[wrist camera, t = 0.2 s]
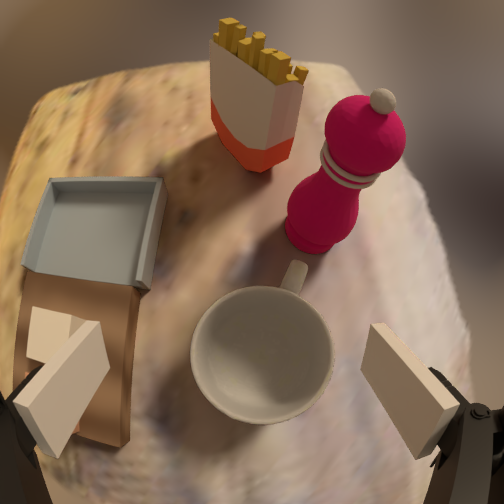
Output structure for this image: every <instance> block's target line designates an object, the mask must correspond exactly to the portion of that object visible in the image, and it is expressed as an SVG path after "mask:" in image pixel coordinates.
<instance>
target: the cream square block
mask: <svg viewBox="0 0 504 504" xmlns="http://www.w3.org/2000/svg"><path fill="white" fill-rule="evenodd" d="M85 322H86V320H84V319H81V318H78V317H76V316H73V315H70V314H65V313H60V312H56V311H51V310H47V309H42V308H38V307H34V306H33V307H32V313H31V319H30V326H29V334H28V343H27V354H26V357H28V358H31V359H34V360H37V361H40V362H43V363H47V362H48V360H49V359H50V358H51V357H52V356H53V355H54V354H55V353H56V352H57V351H58V350H59V349H60V348H61V346H62V345H63V344H64V343H65V342H66V341H67V340H68V339H69V338H70V337H71V336H72V335H73V334H74V333H75V332H76V331H77V330H78V329H79V328H80V327H81V326H82V325H83V324H84V323H85Z"/></svg>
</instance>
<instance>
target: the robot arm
mask: <svg viewBox="0 0 504 504" xmlns="http://www.w3.org/2000/svg"><path fill="white" fill-rule="evenodd" d="M109 369H110V365H109V361H108V357H107V353H106V349H105V344H104V340H103V335H102V330H101V325H100V322H99V321H90V320H87V321H86V322H85V323H84V324H83V325H82V326H81V327H80V328H79V329H78V330H77V331H76V332H75V333H74V334H73V335H72V336H71V337H70V338H69V339H68V340H67V341H66V342H65V343H64V344H63V345H62V346H61V348H60V349H59V350H58V351H57V352H56V353H55V354H54V355H53V356H52V357H51V358H50V359H49V360H48V362H47V363H46V364H45V365H44V366H42V365H40V366H39V367H37V368H35V369H33V370H32V371H31V372H30V373H29V374H28V375H27V376H26V379H24V380H23V381H22V382H21V384H19V385H18V386H17V387H16V389H15V390H14V391H13V392H12V393H11V394H10V395H9V397H8V398H7V399H6V400H4V398H3V396H2V394H1V392H0V504H53V503H52V500H51V498H50V495H49V492H48V489H47V487H46V484H45V481H44V478H43V475H42V471H41V468H40V465H39V461H38V458H37V454H36V452H35V450H34V447H35V446H36V444H37V445H38V446H39V448H40V449H41V451H42V452H43V453H44V454H47V455H49V456H52V457H54V458H57V459H58V458H59V456H60V454H61V453H62V451H63V449H64V447H65V445H66V443H67V441H68V439H69V438H70V436H71V434H72V432H73V430H74V429H75V427H76V425H77V423H78V421H79V420H80V418H81V416H82V414H83V413H84V411H85V409H86V407H87V406H88V404H89V402H90V401H91V399H92V397H93V395H94V394H95V392H96V390H97V389H98V387H99V385H100V384H101V382H102V380H103V379H104V377H105V375H106V374H107V372H108V371H109ZM360 370H361V371H362V373H363V374H364V376H365V378H366V379H367V381H368V382H369V384H370V386H371V387H372V389H373V390H374V392H375V394H376V395H377V397H378V398H379V400H380V402H381V403H382V405H383V407H384V408H385V410H386V412H387V413H388V415H389V416H390V418H391V420H392V421H393V423H394V425H395V426H396V428H397V430H398V431H399V433H400V435H401V436H402V438H403V440H404V441H405V443H406V445H407V447H408V448H409V450H410V452H411V453H412V455H413V457H414V458H415V460H417V459H420V458H422V457H425V456H428V455H430V454H431V453H432V452H433V450H434V449H435V447H436V445H438V446H439V448H440V449H441V450H440V452H439V453H438V455H437V456H436V458H435V459H434V461H433V462H432V463H431V465H430V467H433V465H434V464H435V467H434V471H433V474H432V478H431V481H430V485H429V488H428V491H427V494H426V497H425V500H424V503H423V504H504V406H503V408H502V409H499V410H492V411H491V410H490V409H489V408H488V407H486V406H485V405H483V404H480V403H472V404H470V403H469V402H468V401H467V400H466V399H465V398H464V397H463V396H462V395H461V394H460V392H459V391H458V390H457V389H456V388H455V387H454V386H452V384H451V383H450V382H449V381H447V379H446V378H445V377H444V376H443V375H442V374H441V372H439V371H437V370H435V369H434V368H432V367H430V368H427V367H426V366H425V365H424V364H423V363H422V362H421V361H420V360H419V359H418V358H417V356H416V355H415V354H414V353H413V352H412V351H411V350H410V349H409V348H408V347H407V346H406V345H405V344H404V343H403V342H402V341H401V340H400V339H399V338H398V337H397V336H396V335H395V334H394V333H393V332H392V331H391V330H390V329H389V328H388V326H387V325H386V324H385V323H377V324H371V325H370V330H369V335H368V340H367V344H366V349H365V353H364V357H363V361H362V365H361V369H360Z"/></svg>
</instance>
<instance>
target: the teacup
mask: <svg viewBox="0 0 504 504" xmlns="http://www.w3.org/2000/svg"><path fill="white" fill-rule="evenodd" d="M307 271H308V266H307V264H306V263H304V262H302V261H299V260H292V261H291V263H290V265H289V267H288V269H287V271H286V273H285V276H284V278H283V280H282V283H281V285H280V287H279V288H278V287H272V286H251V287H244V288H241V289H237V290H234V291H232V292H230V293H228V294H226V295H224V296H223V297H221V298H220V299H218V300H217V301H215V302H214V303H213V304H212V305H211V306H210V307H209V308H208V309H207V311H206V312H205V313H204V314H203V316H202V317H201V318H200V320H199V322H198V323H197V325H196V328H195V330H194V333H193V337H192V341H191V347H190V363H191V368H192V372H193V376H194V379H195V381H196V384H197V386H198V388H199V389H200V391H201V392H202V394H203V395H204V396H205V398H206V399H207V400H208V401H209V402H210V403H211V404H212V405H213V406H214V407H215V408H216V409H218V410H219V411H221V412H222V413H224V414H225V415H227V416H229V417H230V418H232V419H235V420H238V421H241V422H244V423H248V424H254V425H270V424H276V423H281V422H284V421H288V420H290V419H292V418H294V417H297V416H298V415H300V414H302V413H303V412H305V411H306V410H308V409H309V408H310V407H311V406H312V405H314V403H315V402H316V401H317V400H318V399H319V398H320V397H321V395H322V394H323V393H324V390H325V389H326V387H327V385H328V383H329V381H330V379H331V375H332V373H333V367H334V361H335V358H334V356H335V349H334V342H333V338H332V335H331V331H330V329H329V327H328V325H327V323H326V321H325V320H324V318H323V316H322V315H321V314H320V313H319V311H318V310H317V309H316V308H315V307H314V306H312V305H311V304H310V303H309V302H308V301H306V300H305V299H303V298H301V297H300V296H299V292H300V290H301V288H302V285H303V283H304V280H305V278H306V275H307Z"/></svg>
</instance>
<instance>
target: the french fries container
mask: <svg viewBox="0 0 504 504" xmlns="http://www.w3.org/2000/svg"><path fill="white" fill-rule="evenodd" d="M246 29H247V27H245V26H243V25H239V21H237V20H235V19H233V18H227V19H221V20H219V33H214V34H213V39H210V91H211V120H212V122H213V124H214V126H215V128H216V131H217V133H218V135H219V137H220V139H221V142H222V144H223V145H224V146H225V147H226V148H227V149H228V150H229V151H230V153H231V154H232V155H233V156H234V157H235V158H236V159H237V160H238V162H239V163H240V164H241V165H242V166H243V167H244V168H245V169H246V170H250V171H255V172H260V173H261V172H263V171H265V170H267V169H269V168H271V167H273V166H275V165H277V164H279V163H281V162H282V161H284V160H286V159H288V158H289V154H290V151H291V147H292V144H293V140H294V137H295V131H296V126H297V121H298V116H299V110H300V105H301V100H302V94H303V89H304V86H303V84H304V81H305V79H306V76H307V74H308V71H309V70H308V69H306V68H305V67H302V66H296V68H295V71H294V74H291V71H292V67H293V66H292V65H291V64H290V60H291V57H289V56H288V55H286V54H285V53H283V52H282V51H279V52H278V50H275V49H273V48H272V49H264V42H265V38H266V35H265V34H263V33H262V32H261V31H260V32H253V35H252V38H245V35H246Z"/></svg>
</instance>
